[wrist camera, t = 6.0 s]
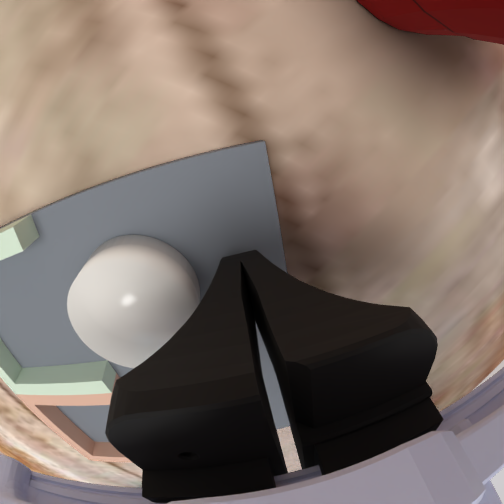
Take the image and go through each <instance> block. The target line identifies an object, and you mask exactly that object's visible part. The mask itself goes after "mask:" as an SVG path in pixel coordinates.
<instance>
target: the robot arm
mask: <svg viewBox="0 0 504 504" xmlns="http://www.w3.org/2000/svg"><path fill="white" fill-rule="evenodd" d="M255 322H256V323H255ZM256 324H257V327H258V329H259V332H260V335H261V337H262V340H263V342H264V345H265V347H266V350H267V353H268V355H269V358H270V360H271V363H272V365H273V368H274V371H275V374H276V377H277V380H278V384H279V388H280V391H281V395H282V398H283V402H284V406H285V409H286V413H287V416H288V420H289V424H290V427H291V431H292V434H293V438H294V442H295V445H296V449H297V452H298V456H299V460H300V463H301V467H302V470H298V471H294V472H290V473H288V471H287V468H286V464H285V460H284V457H283V453H282V449H281V446H280V442H279V438H278V434H277V430H276V426H275V423H274V419H273V415H272V411H271V407H270V403H269V399H268V395H267V391H266V387H265V383H264V379H263V373H262V367H261V360H260V353H259V345H258V338H257V330H256ZM437 346H438V344H437V337H436V336H435V334H434V333H433V332H432V331H431V330H430V328H429V327H428V326H427V325H426V324H425V322H424V321H423V320H422V319H421V318H420V317H419V316H418V315H417V314H416V313H415V312H414V311H413V310H412V309H411V308H410V307H399V306H388V305H378V304H372V303H367V302H361V301H356V300H352V299H348V298H344V297H341V296H338V295H334V294H331V293H328V292H325V291H322V290H320V289H317V288H315V287H313V286H310V285H308V284H306V283H304V282H302V281H300V280H298V279H296V278H294V277H293V276H291V275H289V274H288V273H286V272H285V271H283V270H282V269H280V268H279V267H277V266H276V265H275V264H273V263H272V262H271V261H269V260H268V259H267V258H266V257H264V256H263V255H262V254H261V253H260V252H259V251H257V250H251V251H247V252H243V253H239V254H235V255H230V256H226V257H222V259H221V260H220V262H219V265H218V268H217V271H216V273H215V275H214V277H213V279H212V282H211V284H210V286H209V288H208V290H207V291H206V293H205V295H204V297H203V298H202V300H201V302H200V303H199V305H198V306H197V308H196V309H195V311H194V312H193V314H192V315H191V316H190V318H189V319H188V320H187V321H186V322H185V324H184V325H183V326H182V327H181V328H180V329H179V330H178V331H177V332H176V333H175V334H174V335H173V336H172V337H171V339H170V340H169V341H167V342H166V343H165V344H164V345H163V346H162V347H161V348H160V349H159V350H157V351H156V352H155V353H154V354H153V355H151V356H150V357H149V358H148V359H146V360H145V361H144V362H143V363H141V364H140V365H138V366H137V367H135V368H134V369H132V370H131V371H129V372H128V373H127V374H125V375H124V376H122V377H121V378H119V379H117V380H116V382H115V385H114V389H113V392H112V396H111V401H110V407H109V412H108V418H107V424H106V430H105V434H106V436H107V439H108V441H109V442H110V443H111V444H112V445H113V446H114V447H115V448H116V449H117V450H118V451H119V452H120V453H121V454H123V455H124V456H125V457H126V458H128V459H129V460H130V461H132V462H133V463H134V464H136V465H137V466H138V467H140V468H141V469H143V474H142V488H131V487H117V486H107V485H98V484H91V483H84V482H78V481H72V480H67V479H62V478H57V477H53V476H49V475H45V474H41V473H37V472H33V471H31V470H30V469H29V468H28V467H26V466H25V465H23V464H22V463H20V462H19V461H17V460H15V459H14V458H11V457H9V456H5V455H2V454H0V504H502V502H501V500H500V498H499V496H498V494H497V492H496V490H495V488H494V486H493V485H492V483H491V481H490V479H491V478H492V477H494V476H495V475H496V474H497V473H498V472H499V471H500V470H501V469H502V468H503V467H504V367H503V368H502V369H501V370H499V371H498V372H497V373H496V374H494V375H493V376H492V377H490V378H489V379H488V380H487V381H485V382H484V383H483V384H481V385H480V386H478V387H477V388H476V389H474V390H473V391H471V392H470V393H468V394H467V395H465V396H464V397H462V398H461V399H459V400H458V401H456V402H455V403H453V404H452V405H450V406H448V407H447V408H445V409H444V410H442V411H440V412H439V411H438V410H437V408H436V407H435V405H434V403H433V402H432V400H431V399H430V397H431V395H432V389H431V388H430V387H429V385H428V384H427V382H426V379H427V377H428V374H429V372H430V369H431V367H432V364H433V362H434V359H435V355H436V351H437Z"/></svg>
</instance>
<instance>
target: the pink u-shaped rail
mask: <svg viewBox="0 0 504 504" xmlns="http://www.w3.org/2000/svg"><path fill="white" fill-rule="evenodd" d="M119 378H120V377H119V376H118V374H117V373H116V377H115V381H114V385H115V382H116V380H117V379H119ZM114 385H113V389H114ZM112 392H113V390H112ZM16 395H17V396H18V397H19V398H20V399H21V401H22V402H23V403H24V404H25V405H26V406H27V407H28V408H29V409H30V410H31V411H32V412H33V413H34V414H35V415H36V416H37V417H38V418H40V419H41V420H42V421H43V422H44V423H45V424H46V425H47V426H48V427H49V428H50V429H52V430H53V431H54V432H55V433H56V434H57V435H58V436H60V437H61V438H62V439H63V440H64V441H66V442H67V443H68V444H69V445H71V446H72V447H73V448H74V449H76V450H77V451H78V452H80V453H81V454H82V455H84V456H85V457H86V458H88V459H89V460H94V461H108V462H132V461H130V460H129V459H128V458H126V457H125V456H124V455H123V454H121V453H120V452H119V451H118V450H117V449H116V448H115V447H114V446H113V445H112V444H111V443H110V442H94V441H93V440H92V439H91V438H90V437H88V436H87V435H86V434H85V433H84V432H83V431H82V430H81V429H79V428H78V427H77V426H76V425H75V424H74V423H73V422H72V421H71V420H70V419H69V418H68V417H67V416H66V415H64V414H63V413H62V412H61V411H60V410H59V409H58V408H57V407H56V406H93V405H110V401H111V396H112V393H105V394H87V395H22V394H16Z"/></svg>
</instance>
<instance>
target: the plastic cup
mask: <svg viewBox="0 0 504 504" xmlns="http://www.w3.org/2000/svg"><path fill="white" fill-rule="evenodd" d="M357 1H358V2H359V3H360V4H361V5H362V6H364V7H365V8H366V9H367V10H368V11H369V12H371V13H372V14H373V15H374V16H375V17H376V18H377V19H379V20H381V21H383V22H385V23H387V24H389V25H391V26H393V27H395V28H396V29H398V30H404V31H410V32H415V33H421V34H426V35H454V36H465V37H468V38H471V39H475V40H481V41H488V42H493V43H499V44H503V45H504V0H357Z"/></svg>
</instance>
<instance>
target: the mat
mask: <svg viewBox="0 0 504 504" xmlns="http://www.w3.org/2000/svg"><path fill="white" fill-rule="evenodd" d="M30 214H31V216H32V218H33V221H34V224H35V226H36V229H37V231H38V234H39V237H38V238H37V239H36V240H35V241H34V242H33V243H32V244H30V245H29V246H28V247H27V248H26V249H25V250H24V251H22V252H20V253H17V254H15V255H13V256H10V257H8V258H5V259H3V260H0V338H1V340H2V341H3V343H4V344H5V346H6V347H7V348H8V350H9V351H10V352H11V354H12V355H13V357H14V358H15V359H16V360H17V362H18V363H19V364H20V366H21V367H22V368H29V367H45V366H58V365H69V364H80V363H89V362H97V361H106V359H105V358H103V357H101V356H100V355H98V354H96V353H95V352H94V351H92V350H91V349H90V348H89V347H88V346H87V345H86V344H85V343H84V342H83V341H82V340H81V339H80V338H79V336H78V335H77V333H76V332H75V330H74V328H73V326H72V324H71V322H70V319H69V315H68V311H67V297H68V293H69V290H70V287H71V285H72V283H73V282H74V280H75V278H76V277H77V275H78V274H79V272H80V271H81V269H82V268H83V266H84V265H85V263H86V262H87V260H88V259H89V257H90V256H91V254H92V253H93V252H94V250H95V249H96V248H97V247H98V246H100V245H101V244H103V243H104V242H106V241H108V240H110V239H112V238H115V237H118V236H124V235H144V236H148V237H152V238H155V239H158V240H161V241H163V242H165V243H167V244H169V245H170V246H172V247H173V248H175V249H176V250H177V251H178V252H180V253H181V254H182V255H183V256H184V257H185V258H186V259H187V260H188V262H189V263H190V265H191V266H192V267H193V269H194V271H195V273H196V276H197V278H198V281H199V286H200V302H201V300H202V298H203V297H204V295H205V293H206V291H207V290H208V288H209V286H210V284H211V282H212V279H213V277H214V275H215V273H216V271H217V268H218V265H219V262H220V260H221V259H222V257H226V256H230V255H235V254H239V253H243V252H247V251H251V250H257V251H259V252H260V253H261V254H262V255H263V256H264V257H266V258H267V259H268V260H269V261H271V262H272V263H273V264H275V265H276V266H277V267H279V268H280V269H282V270H283V271H285V272H286V273H287V269H286V262H285V256H284V249H283V243H282V237H281V230H280V224H279V218H278V212H277V206H276V200H275V195H274V189H273V183H272V178H271V172H270V166H269V161H268V156H267V150H266V145H265V141H263V140H260V141H255V142H250V143H245V144H240V145H235V146H231V147H226V148H222V149H217V150H213V151H209V152H205V153H201V154H197V155H193V156H189V157H185V158H182V159H178V160H174V161H171V162H167V163H164V164H160V165H157V166H153V167H150V168H147V169H144V170H140V171H137V172H134V173H131V174H128V175H125V176H122V177H119V178H116V179H113V180H110V181H108V182H105V183H102V184H99V185H96V186H94V187H91V188H88V189H86V190H83V191H81V192H78V193H75V194H73V195H70V196H68V197H66V198H63V199H61V200H58V201H56V202H54V203H51V204H49V205H47V206H44V207H42V208H40V209H38V210H35V211H33V212H31V213H29V214H27V215H25V216H22V217H20V218H18V219H16V220H14V221H12V222H10V223H8V224H6V225H4V226H2V227H0V229H1V228H3V227H5V226H7V225H9V224H11V223H13V222H15V221H17V220H19V219H22V218H24V217H26V216H28V215H30ZM255 323H256V322H255ZM256 330H257V338H258V345H259V353H260V360H261V367H262V373H263V379H264V383H265V387H266V391H267V395H268V399H269V403H270V407H271V411H272V415H273V419H274V423H275V426H276V429H280V428H284V427H288V426H290V424H289V420H288V416H287V413H286V409H285V406H284V402H283V398H282V395H281V391H280V388H279V384H278V380H277V377H276V374H275V371H274V368H273V365H272V363H271V360H270V358H269V355H268V353H267V350H266V347H265V345H264V342H263V340H262V337H261V335H260V332H259V329H258V327H257V324H256ZM108 362H109V363H110V365H111V366H112V367H113V369H114V370H115V372H116V373H117V374H118V376H119V377H120V378H121V377H122V376H124V375H125V374H127V373H128V372H129V371H131V370H132V369H134V368H129V367H124V366H121V365H118V364H115V363H113V362H110V361H108ZM56 407H57V408H58V409H59V410H60V411H61V412H62V413H63V414H64V415H66V416H67V417H68V418H69V419H70V420H71V421H72V422H73V423H74V424H75V425H76V426H77V427H78V428H79V429H81V430H82V431H83V432H84V433H85V434H86V435H87V436H88V437H90V438H91V439H92V440H93V441H94V442H109V441H108V439H107V436H106V434H105V430H106V424H107V418H108V412H109V407H110V405H93V406H56Z"/></svg>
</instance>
